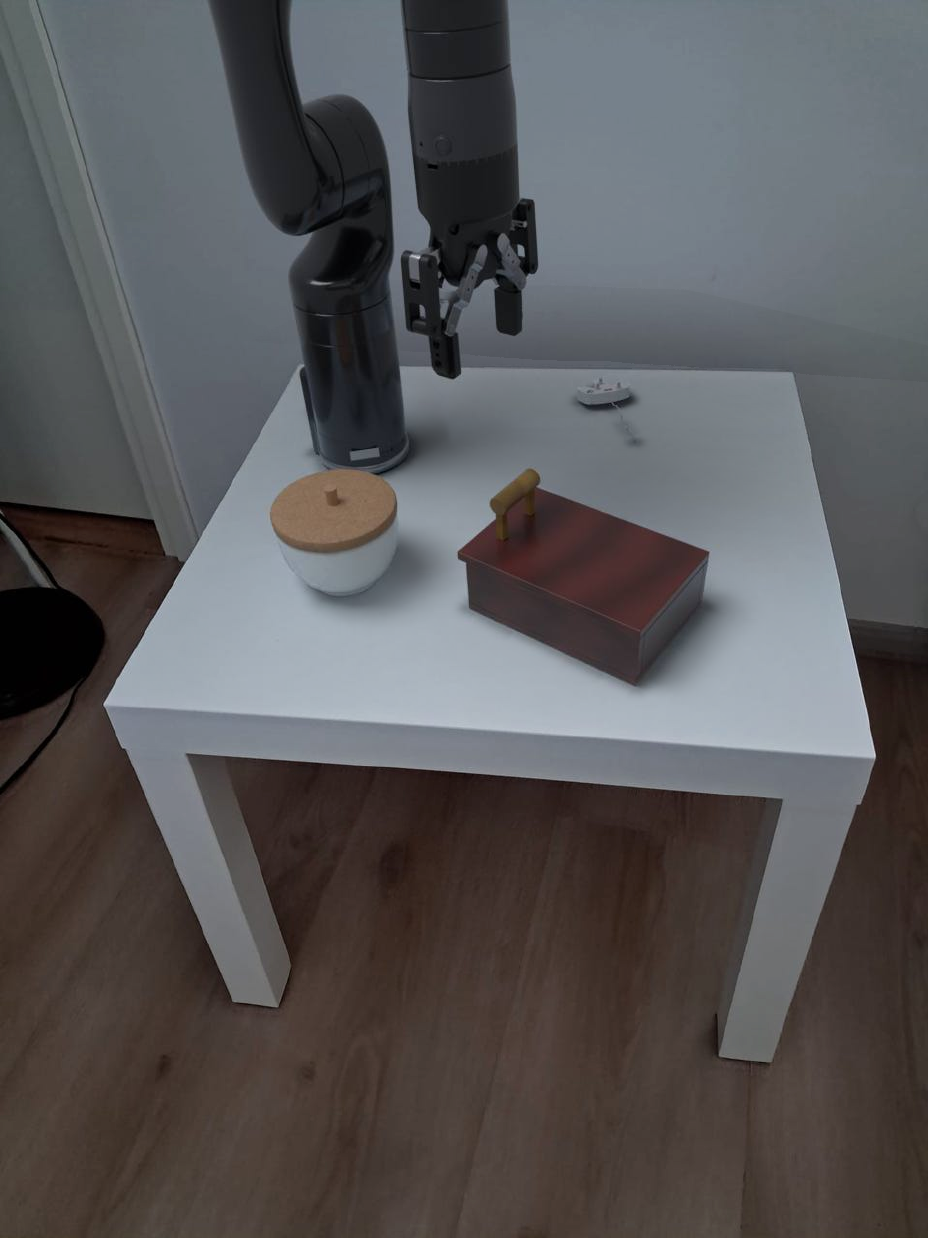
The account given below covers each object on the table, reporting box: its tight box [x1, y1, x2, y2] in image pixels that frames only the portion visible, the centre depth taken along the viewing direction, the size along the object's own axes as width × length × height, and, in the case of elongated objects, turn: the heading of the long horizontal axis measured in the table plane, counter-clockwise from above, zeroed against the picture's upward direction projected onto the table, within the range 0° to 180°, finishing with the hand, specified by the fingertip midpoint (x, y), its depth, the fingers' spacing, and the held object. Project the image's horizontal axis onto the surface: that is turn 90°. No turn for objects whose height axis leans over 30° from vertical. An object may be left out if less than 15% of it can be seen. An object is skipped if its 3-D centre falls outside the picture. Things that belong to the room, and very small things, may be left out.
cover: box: [456, 468, 711, 639], centre depth 74 cm, size 17×11×5 cm, turn 53°
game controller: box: [576, 377, 636, 443], centre depth 101 cm, size 6×12×3 cm, turn 31°
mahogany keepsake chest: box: [465, 559, 709, 687], centre depth 77 cm, size 16×11×5 cm
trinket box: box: [269, 469, 399, 597], centre depth 81 cm, size 11×11×9 cm
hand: (479, 353), depth 77 cm, fingers open, 8 cm apart
